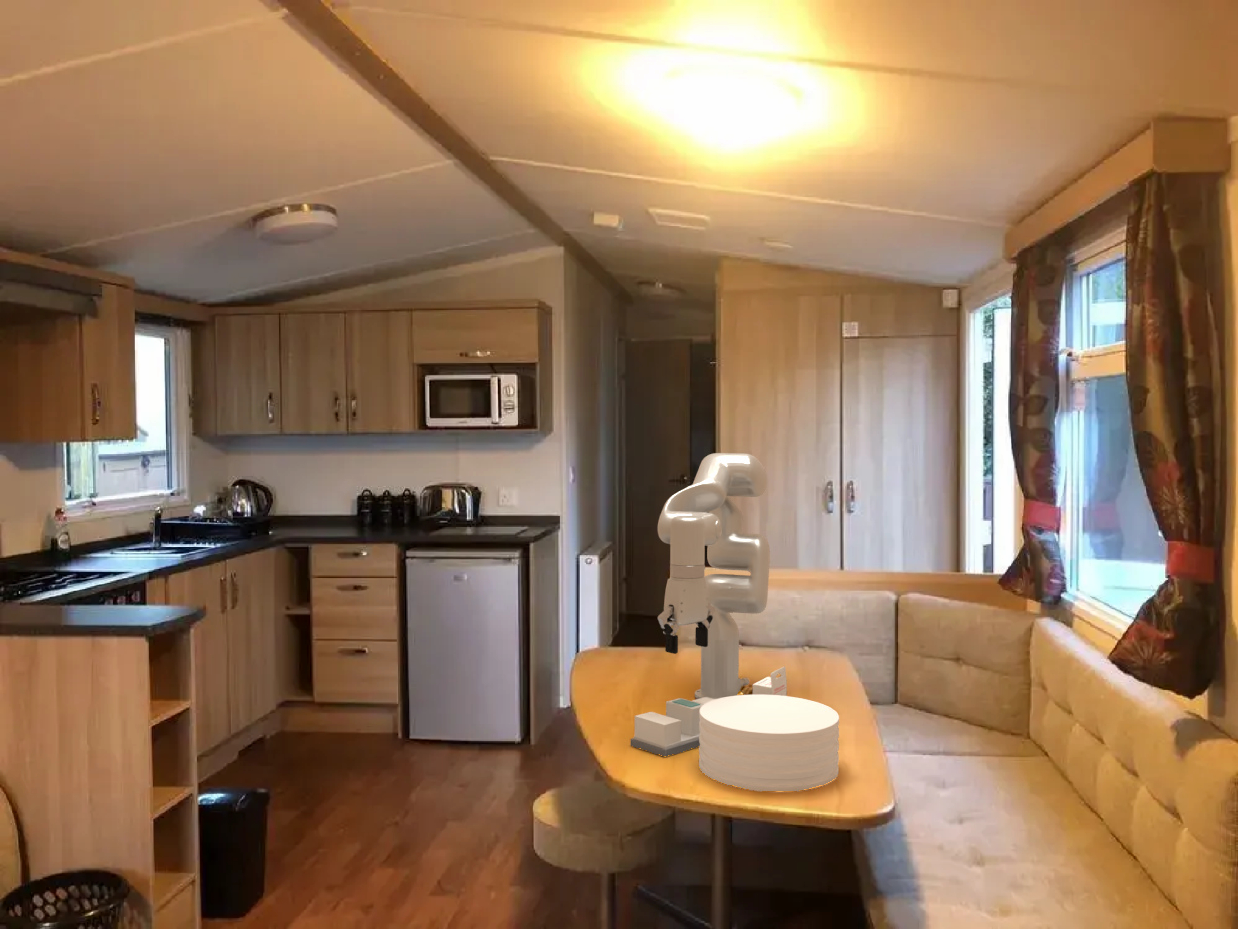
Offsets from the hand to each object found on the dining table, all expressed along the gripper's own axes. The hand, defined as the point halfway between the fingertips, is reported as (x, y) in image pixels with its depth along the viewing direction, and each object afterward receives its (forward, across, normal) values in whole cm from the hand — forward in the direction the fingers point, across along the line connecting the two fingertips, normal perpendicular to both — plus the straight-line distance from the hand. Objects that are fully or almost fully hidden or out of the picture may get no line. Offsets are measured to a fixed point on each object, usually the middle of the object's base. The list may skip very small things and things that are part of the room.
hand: (686, 649), depth 225 cm
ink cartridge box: (+20, -18, +9) cm, 29 cm away
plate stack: (+20, +1, +24) cm, 31 cm away
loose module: (+18, 0, 0) cm, 18 cm away
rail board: (+20, 0, 0) cm, 20 cm away
